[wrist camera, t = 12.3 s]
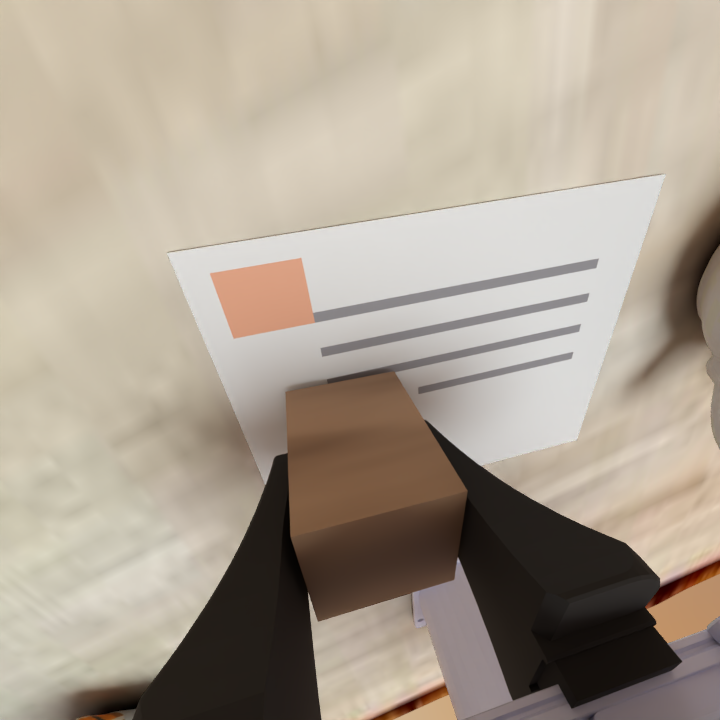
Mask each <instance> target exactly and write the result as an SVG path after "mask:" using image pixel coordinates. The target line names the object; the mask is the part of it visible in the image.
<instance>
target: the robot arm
mask: <svg viewBox="0 0 720 720" xmlns="http://www.w3.org/2000/svg"><path fill="white" fill-rule="evenodd" d="M424 421H425V422H426V424H427V426H428V427H429V429H430V430H431V432H432V434H433V435H434V437H435V439H436V440H437V442H438V443H439V445H440V447H441V448H442V450H443V452H444V453H445V455H446V457H447V458H448V460H449V461H450V463H451V465H452V466H453V468H454V470H455V471H456V473H457V474H458V476H459V478H460V479H461V481H462V483H463V484H464V486H465V487H466V489H467V491H468V492H467V499H466V505H465V512H464V518H463V525H462V532H461V538H460V545H459V551H458V558H457V565H456V571H455V578H454V580H452V581H449V582H446V583H442V584H439V585H436V586H433V587H429V588H426V589H423V590H420V591H416V592H413V593H412V605H413V619H414V625H415V627H416V628H420V627H424V626H427V628H428V631H429V634H430V637H431V640H432V643H433V646H434V649H435V653H436V656H437V659H438V662H439V665H440V668H441V671H442V674H443V677H444V680H445V683H446V687H447V690H448V693H449V696H450V699H451V702H452V705H453V708H454V711H455V714H456V717H457V720H720V616H719V617H718V618H716V619H715V620H713V621H712V622H711V623H710V624H709V625H708V626H707V629H705V630H703V631H700V632H697V633H695V634H692V635H689V636H687V637H684V638H681V639H678V640H676V641H673V642H670V643H667V642H666V641H665V640H664V639H663V637H662V636H661V635H660V634H659V633H658V631H657V630H656V629H655V628H654V627H653V626H654V625H656V621H655V619H654V618H653V617H652V615H651V614H650V613H649V612H648V611H647V609H646V608H645V606H646V605H647V603H648V602H649V601H650V600H651V598H652V597H653V596H654V595H655V593H656V592H657V591H658V589H659V587H660V578H659V577H658V576H657V575H656V574H655V573H654V572H653V571H652V569H651V568H650V567H649V566H648V565H647V564H646V563H645V562H644V561H643V560H642V559H641V557H640V556H639V555H637V554H636V553H635V552H634V551H633V550H632V549H631V548H630V547H629V546H628V545H627V544H626V543H624V542H621V541H619V540H617V539H614V538H612V537H609V536H607V535H605V534H602V533H600V532H597V531H595V530H593V529H590V528H588V527H586V526H583V525H581V524H579V523H577V522H575V521H573V520H571V519H569V518H567V517H564V516H562V515H560V514H558V513H556V512H555V511H553V510H551V509H549V508H547V507H545V506H543V505H542V504H540V503H538V502H536V501H534V500H532V499H530V498H529V497H527V496H525V495H524V494H522V493H520V492H519V491H517V490H515V489H514V488H512V487H511V486H509V485H507V484H506V483H504V482H503V481H501V480H500V479H498V478H497V477H495V476H494V475H492V474H491V473H490V472H488V471H487V470H485V469H484V468H483V467H481V466H480V465H479V464H477V463H476V462H475V461H473V460H472V459H471V458H470V457H468V456H467V455H466V454H465V453H463V452H462V451H461V450H460V449H458V448H457V447H456V446H455V445H454V444H452V443H451V442H450V441H449V440H448V439H447V438H446V437H444V436H443V435H442V434H441V433H440V432H439V431H438V430H437V429H436V428H435V427H433V426H432V425H431V424H430V423H429V422H428V421H427V420H424ZM132 720H321V713H320V705H319V697H318V688H317V678H316V669H315V660H314V651H313V641H312V631H311V621H310V610H309V599H308V589H307V586H306V583H305V580H304V577H303V574H302V571H301V568H300V565H299V562H298V558H297V555H296V552H295V549H294V546H293V543H292V540H291V535H290V507H289V479H288V453H286V454H281V455H277V456H276V457H275V458H274V460H273V464H272V467H271V470H270V474H269V477H268V480H267V483H266V485H265V488H264V491H263V494H262V496H261V499H260V501H259V504H258V507H257V509H256V511H255V514H254V516H253V518H252V521H251V523H250V525H249V527H248V529H247V532H246V534H245V536H244V538H243V540H242V542H241V544H240V546H239V548H238V550H237V552H236V554H235V556H234V558H233V560H232V562H231V564H230V565H229V567H228V569H227V571H226V573H225V574H224V576H223V578H222V579H221V581H220V583H219V585H218V586H217V588H216V590H215V591H214V593H213V595H212V596H211V598H210V600H209V601H208V603H207V604H206V606H205V608H204V609H203V611H202V612H201V614H200V615H199V617H198V618H197V620H196V621H195V623H194V624H193V626H192V627H191V629H190V630H189V632H188V633H187V635H186V636H185V638H184V639H183V641H182V642H181V643H180V645H179V646H178V648H177V649H176V651H175V652H174V653H173V655H172V656H171V657H170V659H169V660H168V661H167V663H166V664H165V665H164V667H163V668H162V670H161V671H160V672H159V674H158V675H157V676H156V678H155V679H154V680H153V682H152V683H151V684H150V686H149V687H148V688H147V690H146V691H145V692H144V694H143V695H142V696H141V698H140V700H139V703H138V705H137V708H136V711H135V714H134V717H133V719H132Z"/></svg>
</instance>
